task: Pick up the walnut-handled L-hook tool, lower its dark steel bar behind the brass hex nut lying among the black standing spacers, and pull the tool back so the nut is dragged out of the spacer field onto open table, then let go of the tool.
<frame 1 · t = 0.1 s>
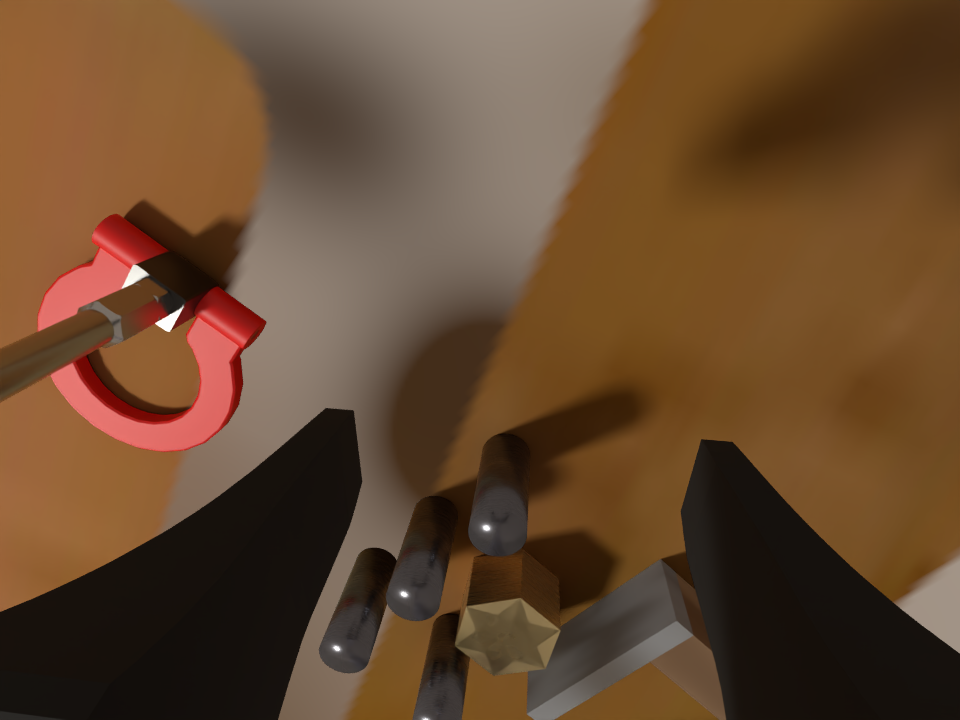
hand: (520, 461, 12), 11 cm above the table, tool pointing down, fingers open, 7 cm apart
spacer field: (510, 587, 27), on the table
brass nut: (510, 585, 27), on the table
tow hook: (157, 346, 25), on the table
hook tool: (699, 621, 27), on the table
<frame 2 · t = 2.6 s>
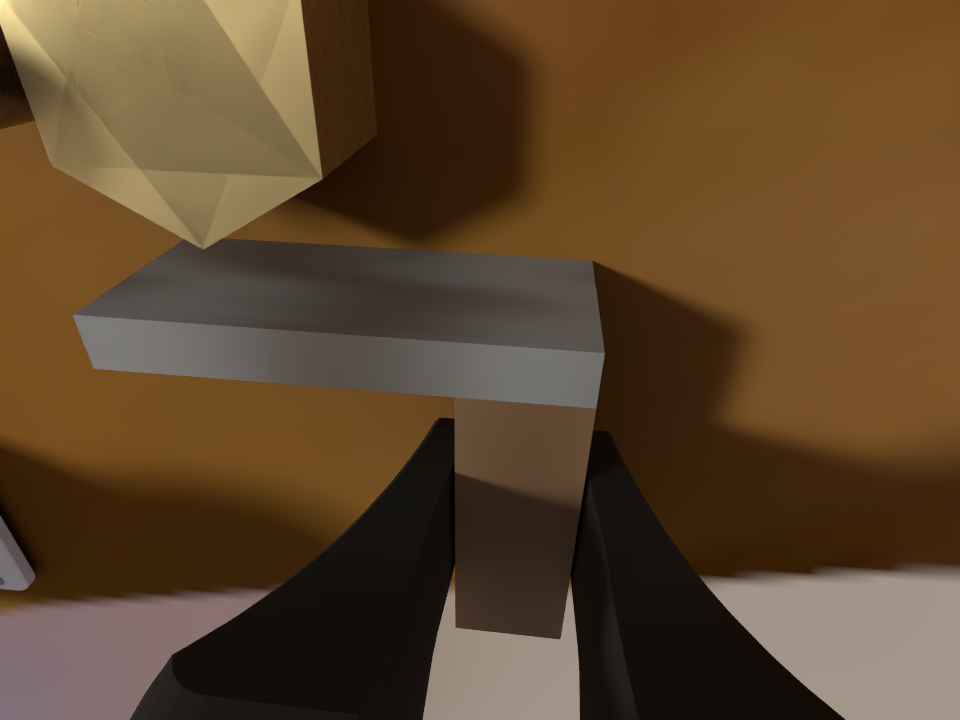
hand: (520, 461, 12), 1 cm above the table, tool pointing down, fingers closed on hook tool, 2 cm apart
spacer field: (257, 59, 10), on the table
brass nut: (259, 58, 10), on the table
hook tool: (523, 417, 14), on the table, touching gripper
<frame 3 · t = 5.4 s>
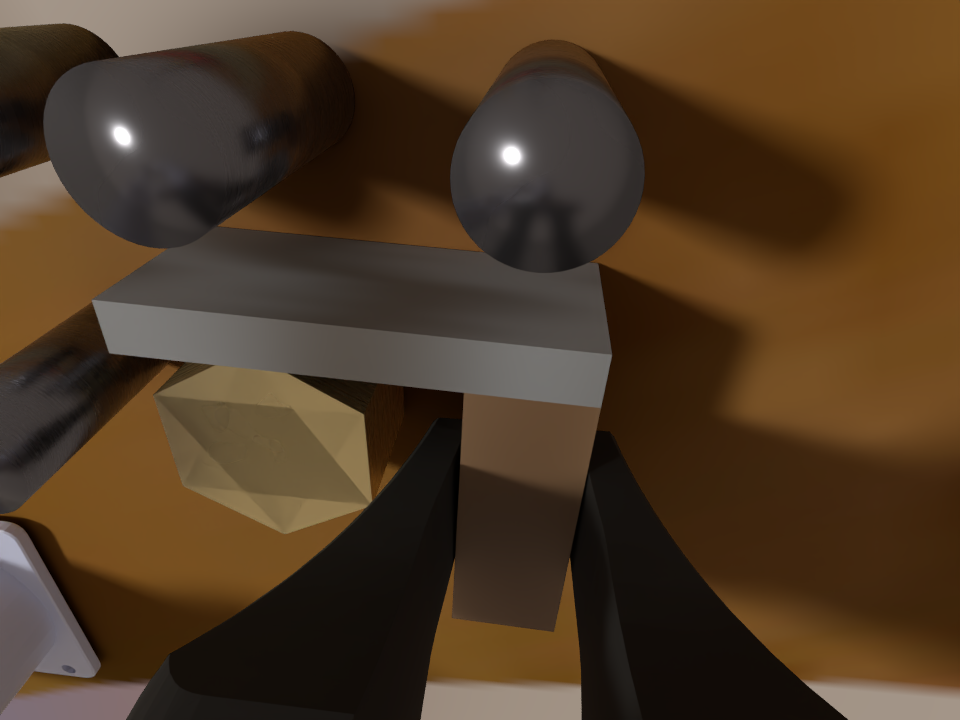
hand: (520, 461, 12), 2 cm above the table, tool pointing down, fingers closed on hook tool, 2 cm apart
spacer field: (310, 335, 13), on the table
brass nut: (319, 368, 14), on the table, touching hook tool
hook tool: (523, 415, 14), on the table, touching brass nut, gripper
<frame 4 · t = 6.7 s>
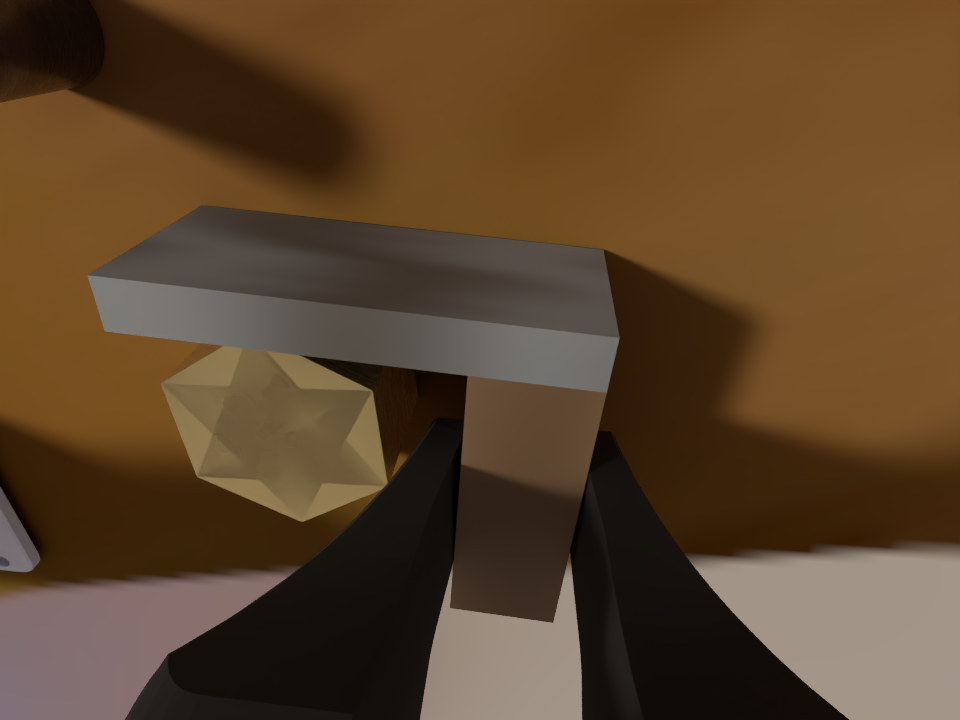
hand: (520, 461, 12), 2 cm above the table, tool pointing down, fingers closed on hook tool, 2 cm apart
spacer field: (263, 33, 10), on the table
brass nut: (329, 354, 14), on the table, touching hook tool
hook tool: (524, 404, 14), on the table, touching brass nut, gripper
when the fingers open (2 cm above the table, at t = 7.8 s): hook tool stays where it is, on the table.
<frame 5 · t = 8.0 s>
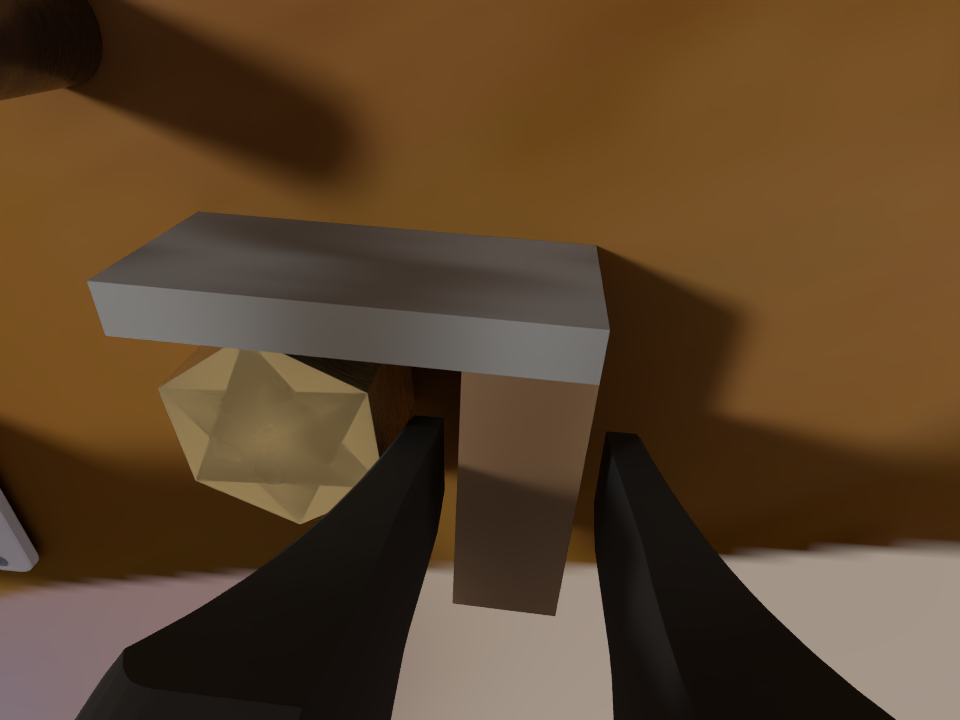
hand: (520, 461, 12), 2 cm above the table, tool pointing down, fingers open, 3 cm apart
spacer field: (261, 31, 10), on the table
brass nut: (326, 357, 14), on the table, touching gripper
hook tool: (523, 400, 14), on the table
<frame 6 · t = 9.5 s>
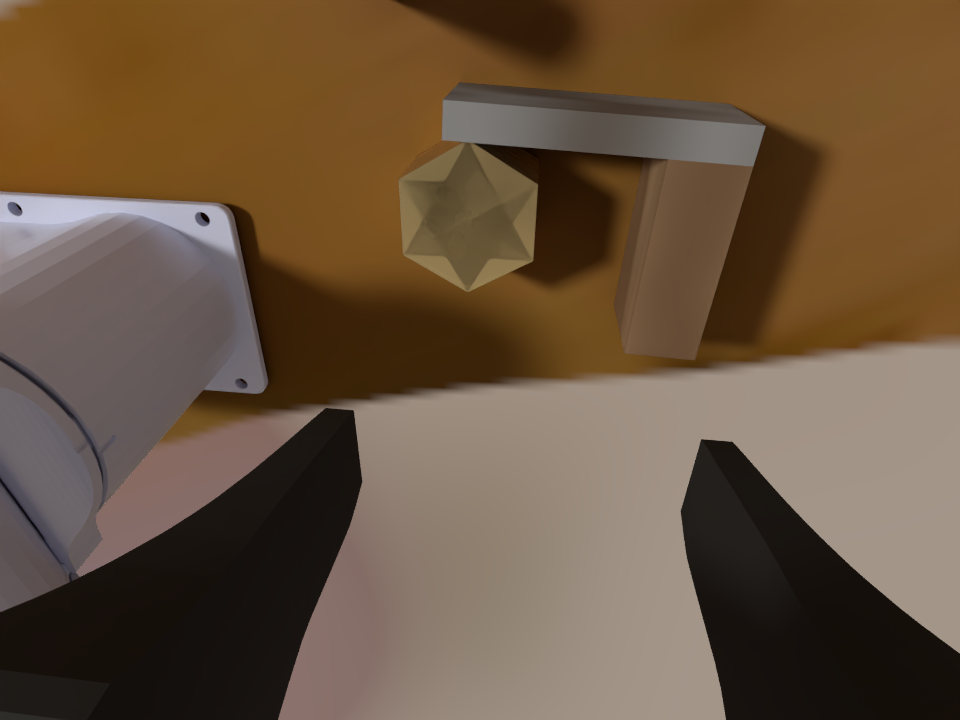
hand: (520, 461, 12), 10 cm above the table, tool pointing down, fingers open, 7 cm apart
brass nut: (477, 191, 20), on the table
hook tool: (662, 227, 20), on the table
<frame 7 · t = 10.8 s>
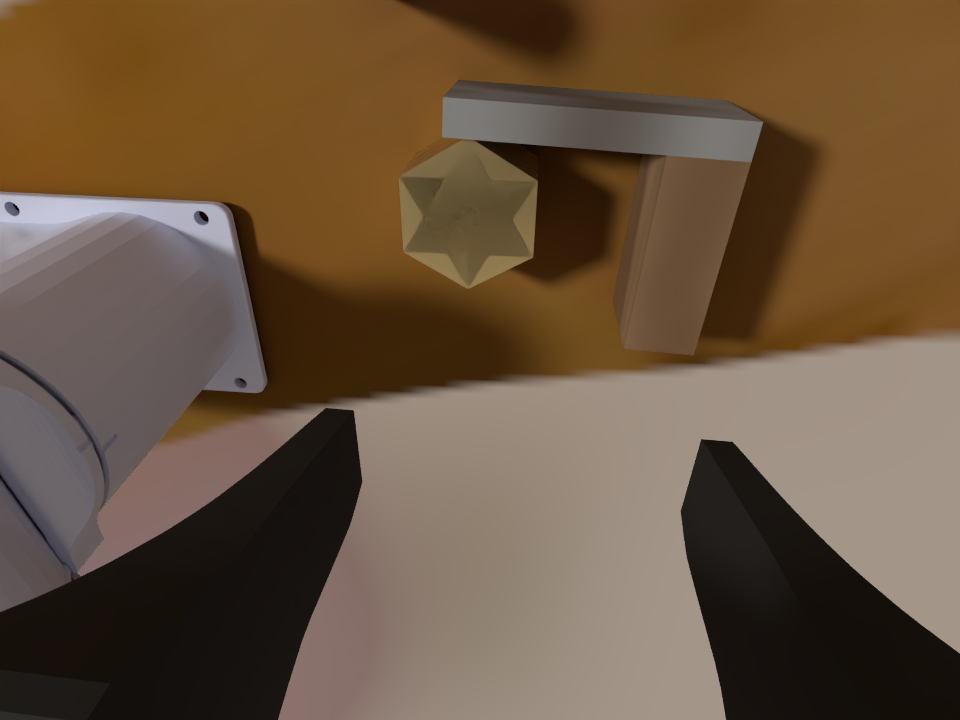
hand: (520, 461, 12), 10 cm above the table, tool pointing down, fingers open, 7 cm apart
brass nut: (476, 189, 20), on the table
hook tool: (660, 224, 20), on the table
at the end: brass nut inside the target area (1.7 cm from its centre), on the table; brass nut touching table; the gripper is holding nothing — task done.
